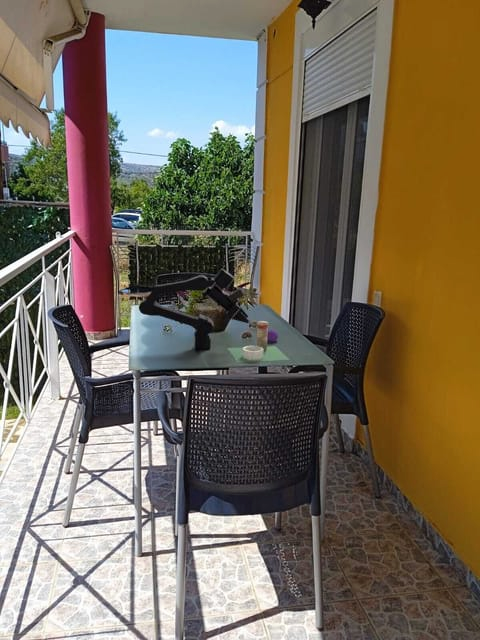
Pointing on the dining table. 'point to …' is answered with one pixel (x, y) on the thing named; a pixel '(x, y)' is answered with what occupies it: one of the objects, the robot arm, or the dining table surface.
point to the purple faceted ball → (272, 336)
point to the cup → (252, 352)
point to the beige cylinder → (262, 334)
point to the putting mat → (269, 355)
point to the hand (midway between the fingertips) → (248, 319)
